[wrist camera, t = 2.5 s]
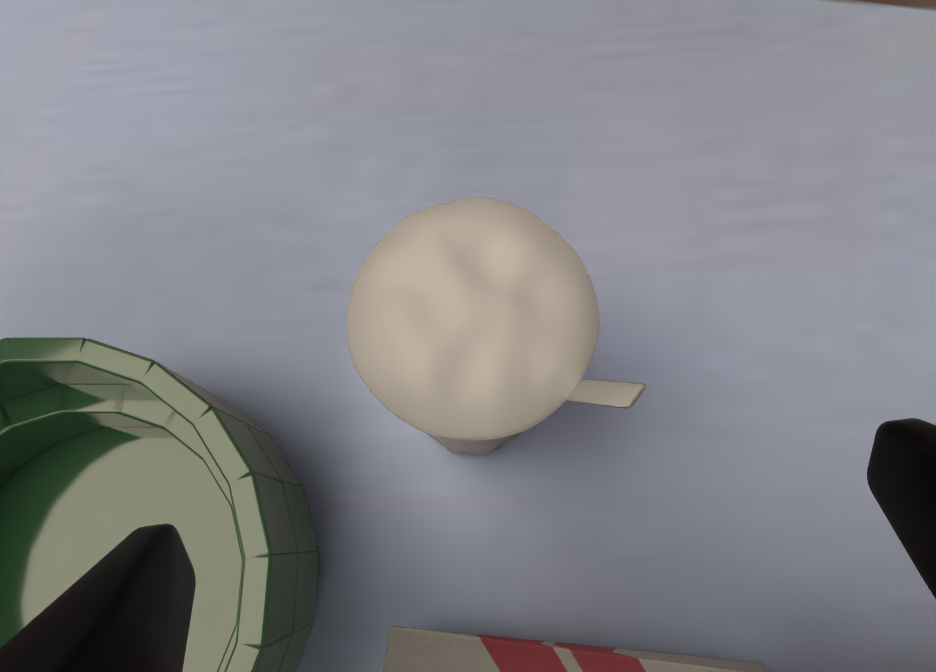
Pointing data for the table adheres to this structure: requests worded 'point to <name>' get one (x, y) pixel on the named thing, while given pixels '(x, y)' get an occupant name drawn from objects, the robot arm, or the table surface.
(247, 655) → the bowl
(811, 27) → the table surface
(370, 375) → the milkshake
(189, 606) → the robot arm
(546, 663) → the paintbrush
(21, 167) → the table surface
